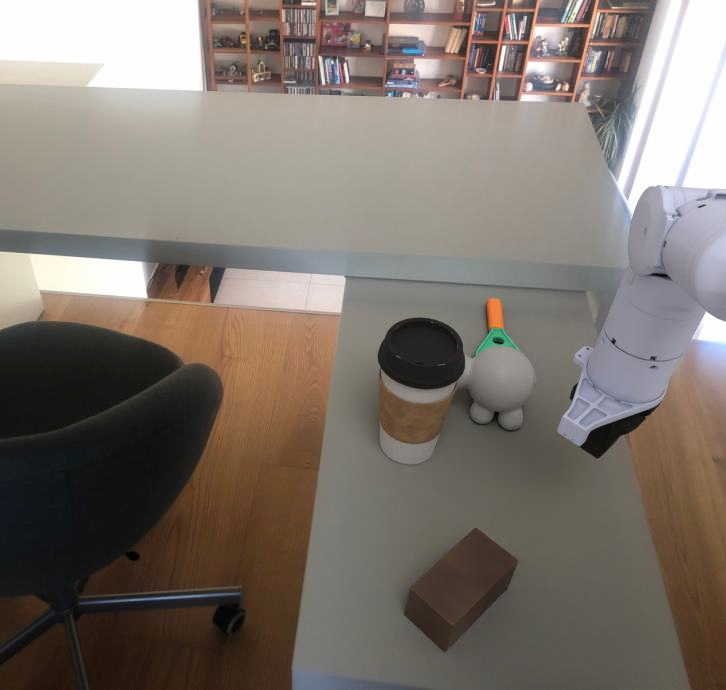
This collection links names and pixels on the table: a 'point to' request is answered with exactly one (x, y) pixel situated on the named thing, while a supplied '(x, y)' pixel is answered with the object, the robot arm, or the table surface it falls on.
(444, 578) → the brown wooden block
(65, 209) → the table surface
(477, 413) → the toy rhinoceros
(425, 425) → the coffee cup
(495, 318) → the vegetable peeler
